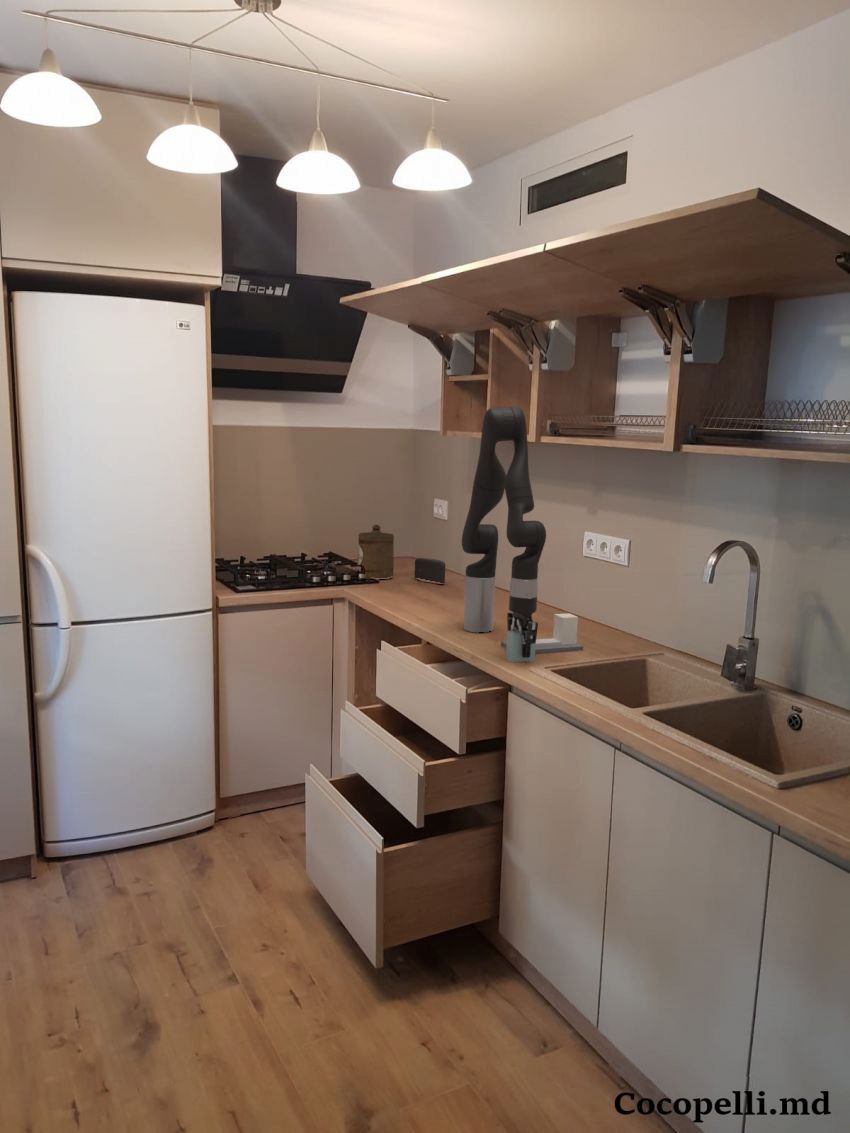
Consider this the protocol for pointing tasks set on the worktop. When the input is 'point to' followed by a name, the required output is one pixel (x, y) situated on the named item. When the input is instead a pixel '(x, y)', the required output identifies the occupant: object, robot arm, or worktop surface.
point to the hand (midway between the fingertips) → (520, 654)
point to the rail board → (553, 648)
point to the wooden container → (376, 553)
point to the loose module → (517, 647)
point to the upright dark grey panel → (430, 569)
